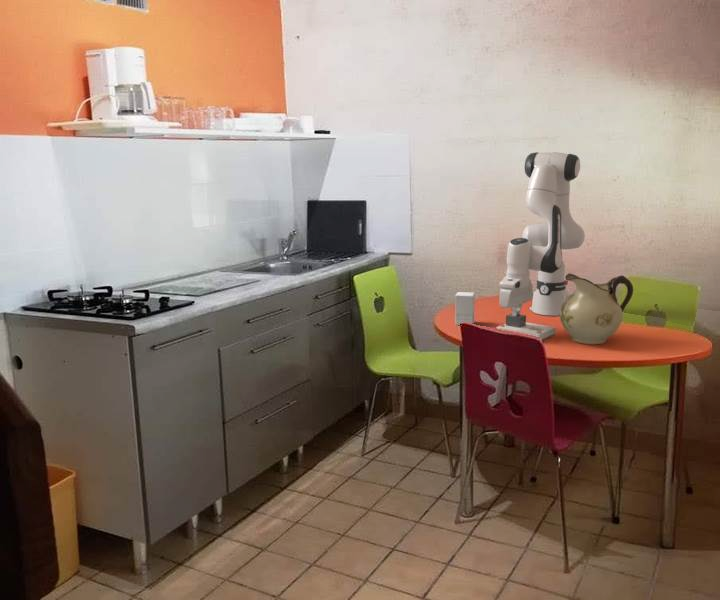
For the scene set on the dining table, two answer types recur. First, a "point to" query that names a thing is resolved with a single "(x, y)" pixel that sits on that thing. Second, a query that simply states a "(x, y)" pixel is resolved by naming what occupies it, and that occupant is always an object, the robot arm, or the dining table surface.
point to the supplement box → (464, 307)
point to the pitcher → (593, 309)
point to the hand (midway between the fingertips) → (516, 315)
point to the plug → (516, 320)
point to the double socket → (532, 330)
